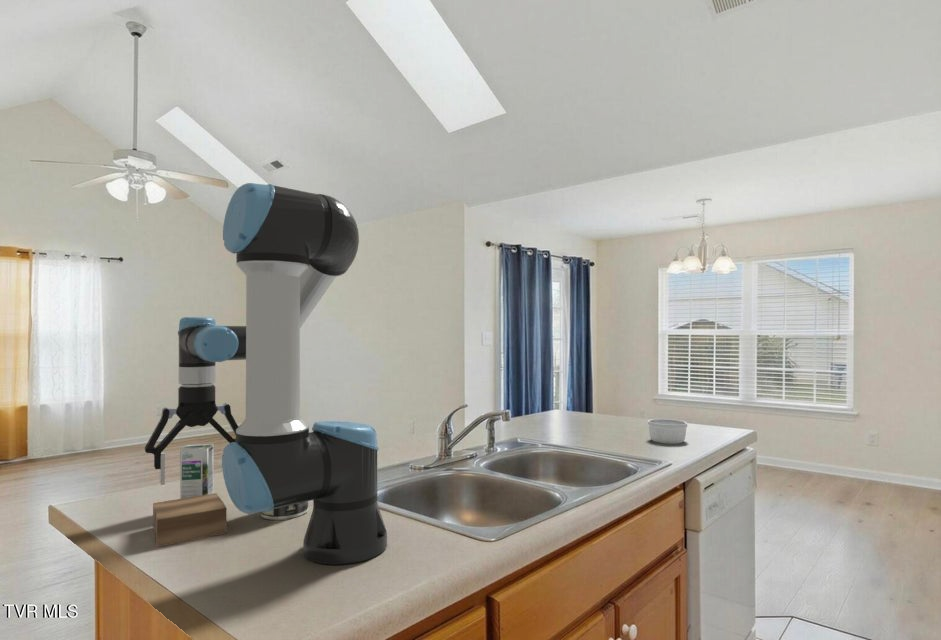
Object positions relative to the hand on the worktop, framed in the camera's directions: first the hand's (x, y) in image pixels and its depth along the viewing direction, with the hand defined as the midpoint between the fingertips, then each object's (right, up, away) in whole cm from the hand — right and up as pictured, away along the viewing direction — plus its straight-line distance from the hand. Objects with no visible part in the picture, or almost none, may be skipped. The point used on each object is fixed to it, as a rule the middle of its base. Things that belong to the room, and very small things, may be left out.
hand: (196, 478), depth 123 cm
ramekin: (+133, -8, +71) cm, 151 cm away
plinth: (+5, -7, -13) cm, 15 cm away
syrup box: (0, -7, 0) cm, 7 cm away
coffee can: (+21, -7, -2) cm, 22 cm away
